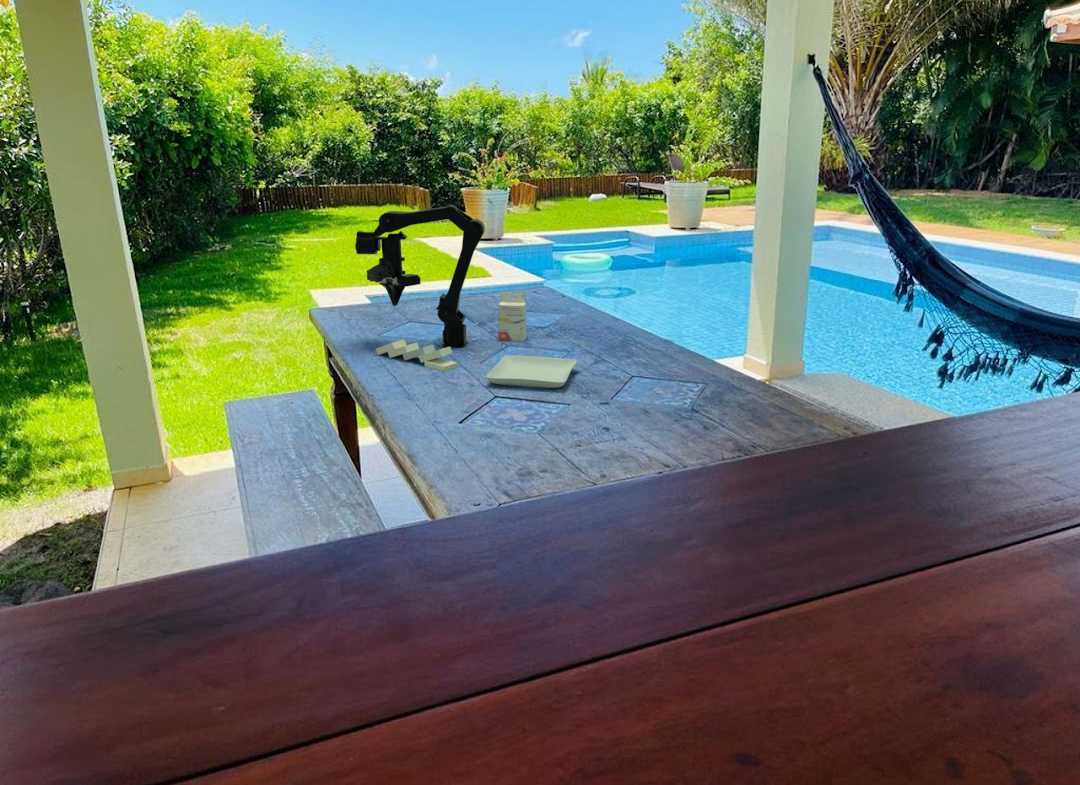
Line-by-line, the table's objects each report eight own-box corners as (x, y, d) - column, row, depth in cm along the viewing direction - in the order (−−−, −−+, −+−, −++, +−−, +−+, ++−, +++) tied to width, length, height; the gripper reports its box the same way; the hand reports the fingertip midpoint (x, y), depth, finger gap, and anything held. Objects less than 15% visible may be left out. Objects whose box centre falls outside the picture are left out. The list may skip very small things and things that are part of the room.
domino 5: (424, 361, 217) (444, 366, 212) (437, 357, 221) (457, 362, 216) (424, 368, 218) (444, 373, 213) (437, 364, 222) (457, 369, 217)
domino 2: (387, 351, 226) (404, 345, 221) (400, 347, 230) (417, 342, 224) (389, 358, 226) (406, 352, 221) (402, 354, 230) (419, 348, 225)
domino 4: (418, 356, 219) (439, 349, 214) (430, 352, 223) (450, 346, 218) (420, 362, 219) (441, 356, 214) (432, 359, 223) (452, 353, 218)
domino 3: (402, 354, 222) (422, 347, 218) (413, 350, 226) (433, 344, 222) (404, 360, 222) (424, 354, 218) (415, 357, 227) (435, 350, 222)
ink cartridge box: (498, 340, 245) (497, 295, 240) (500, 337, 250) (499, 292, 245) (524, 341, 244) (524, 295, 239) (526, 337, 249) (526, 292, 244)
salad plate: (565, 393, 195) (565, 381, 194) (484, 388, 200) (484, 376, 198) (578, 370, 215) (578, 358, 214) (504, 366, 219) (504, 354, 218)
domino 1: (375, 348, 229) (391, 342, 223) (388, 345, 232) (404, 339, 227) (377, 355, 229) (394, 349, 224) (390, 351, 233) (406, 345, 227)
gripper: (350, 254, 231) (354, 305, 236) (391, 260, 220) (394, 314, 225) (380, 250, 239) (383, 300, 244) (420, 256, 228) (423, 307, 233)
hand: (394, 305), depth 236 cm, fingers closed
